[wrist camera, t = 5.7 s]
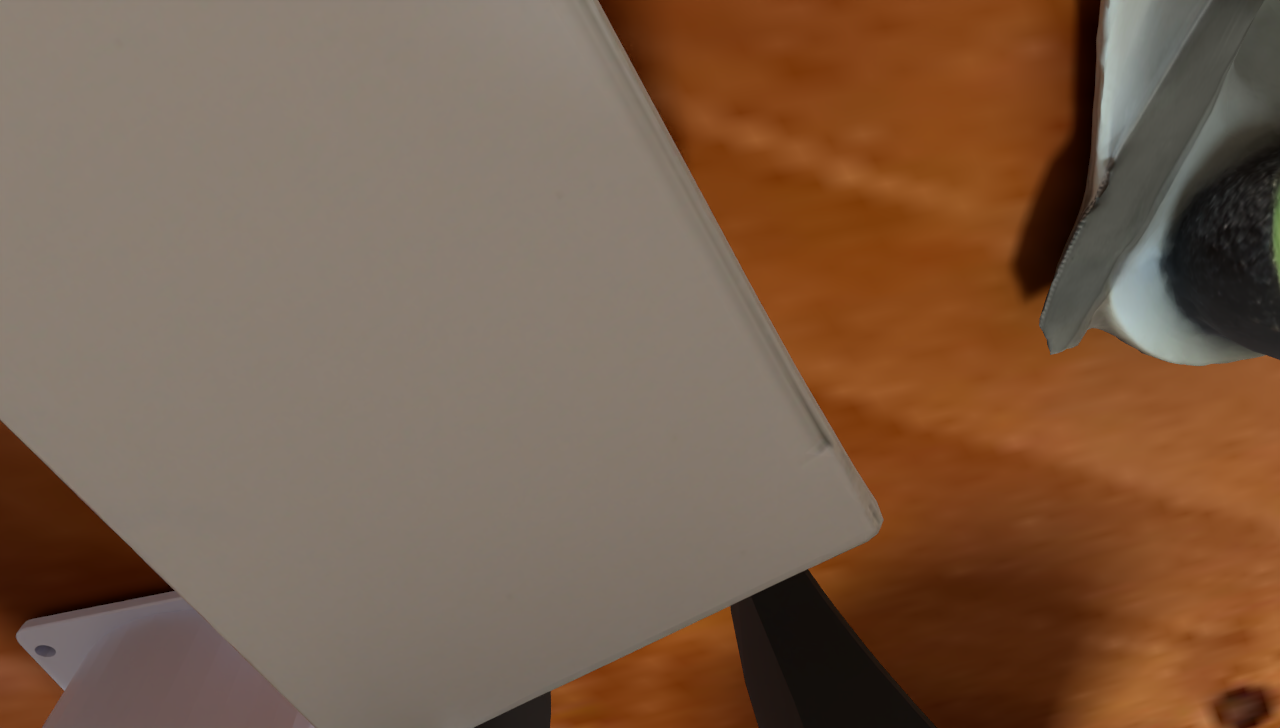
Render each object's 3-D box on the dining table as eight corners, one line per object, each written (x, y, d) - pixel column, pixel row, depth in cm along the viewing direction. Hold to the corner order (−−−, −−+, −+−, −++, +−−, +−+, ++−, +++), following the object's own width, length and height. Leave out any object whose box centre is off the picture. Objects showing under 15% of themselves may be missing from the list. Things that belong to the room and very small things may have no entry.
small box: (285, 57, 14) (-508, -31, 4) (525, -107, 13) (245, -715, 3) (511, 383, 17) (353, 808, 7) (725, 264, 16) (904, 550, 6)
